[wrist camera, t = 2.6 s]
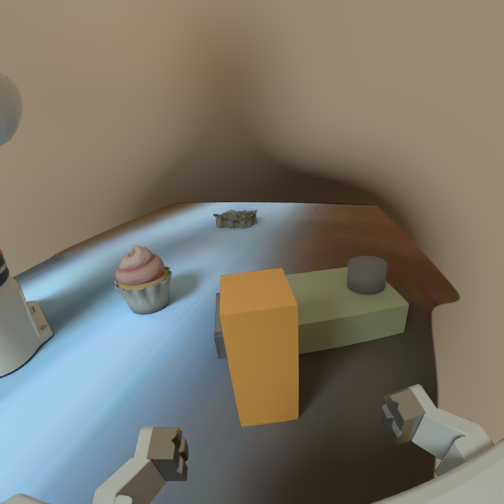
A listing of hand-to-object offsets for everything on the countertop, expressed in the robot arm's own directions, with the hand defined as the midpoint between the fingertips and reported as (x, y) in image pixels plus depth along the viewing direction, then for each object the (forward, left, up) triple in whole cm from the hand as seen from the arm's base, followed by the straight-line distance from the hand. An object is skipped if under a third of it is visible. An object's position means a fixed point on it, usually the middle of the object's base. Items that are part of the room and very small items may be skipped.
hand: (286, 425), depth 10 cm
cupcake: (-37, +5, -13) cm, 39 cm away
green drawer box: (-17, +19, -12) cm, 28 cm away
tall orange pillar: (-11, +7, -12) cm, 18 cm away
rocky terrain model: (-62, +39, -13) cm, 75 cm away
